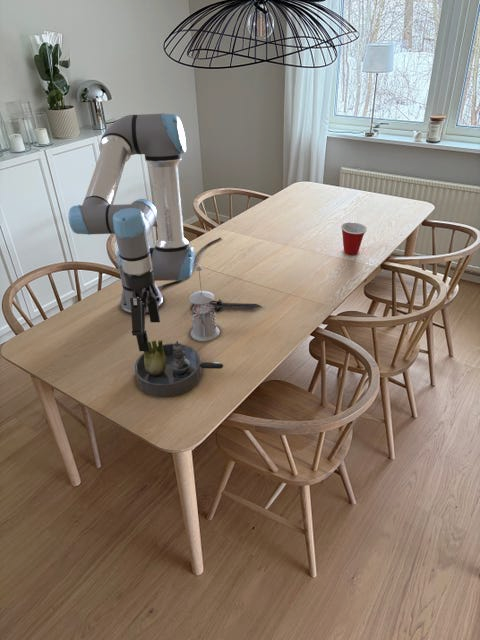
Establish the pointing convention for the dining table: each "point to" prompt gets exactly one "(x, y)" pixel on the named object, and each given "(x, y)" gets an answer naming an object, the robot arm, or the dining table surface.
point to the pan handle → (211, 365)
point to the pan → (168, 374)
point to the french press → (203, 315)
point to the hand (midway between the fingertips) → (150, 335)
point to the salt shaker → (180, 362)
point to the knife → (232, 305)
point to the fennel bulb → (155, 359)
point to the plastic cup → (352, 237)
